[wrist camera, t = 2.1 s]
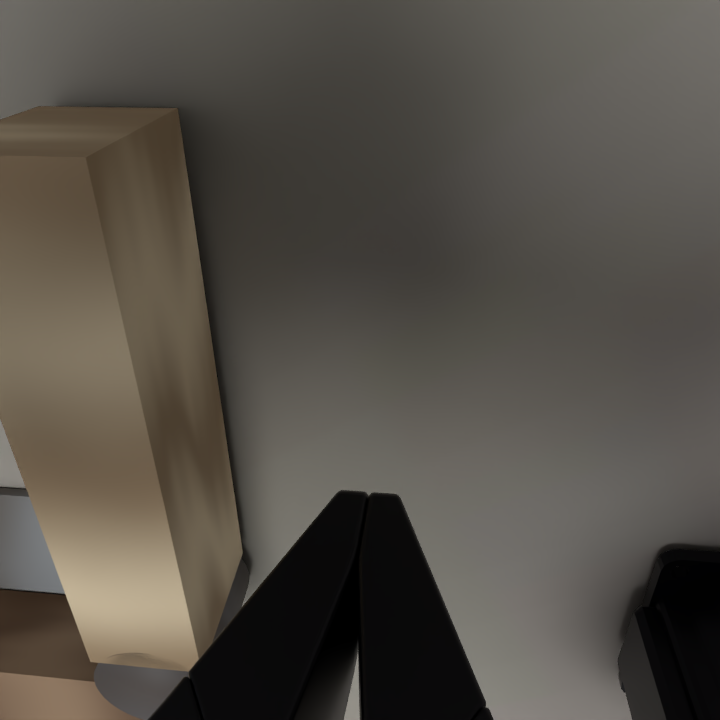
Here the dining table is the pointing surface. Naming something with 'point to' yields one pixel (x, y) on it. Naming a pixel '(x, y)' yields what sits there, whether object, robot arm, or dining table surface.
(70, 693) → the bench scraper
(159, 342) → the oak leg
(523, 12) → the dining table surface
